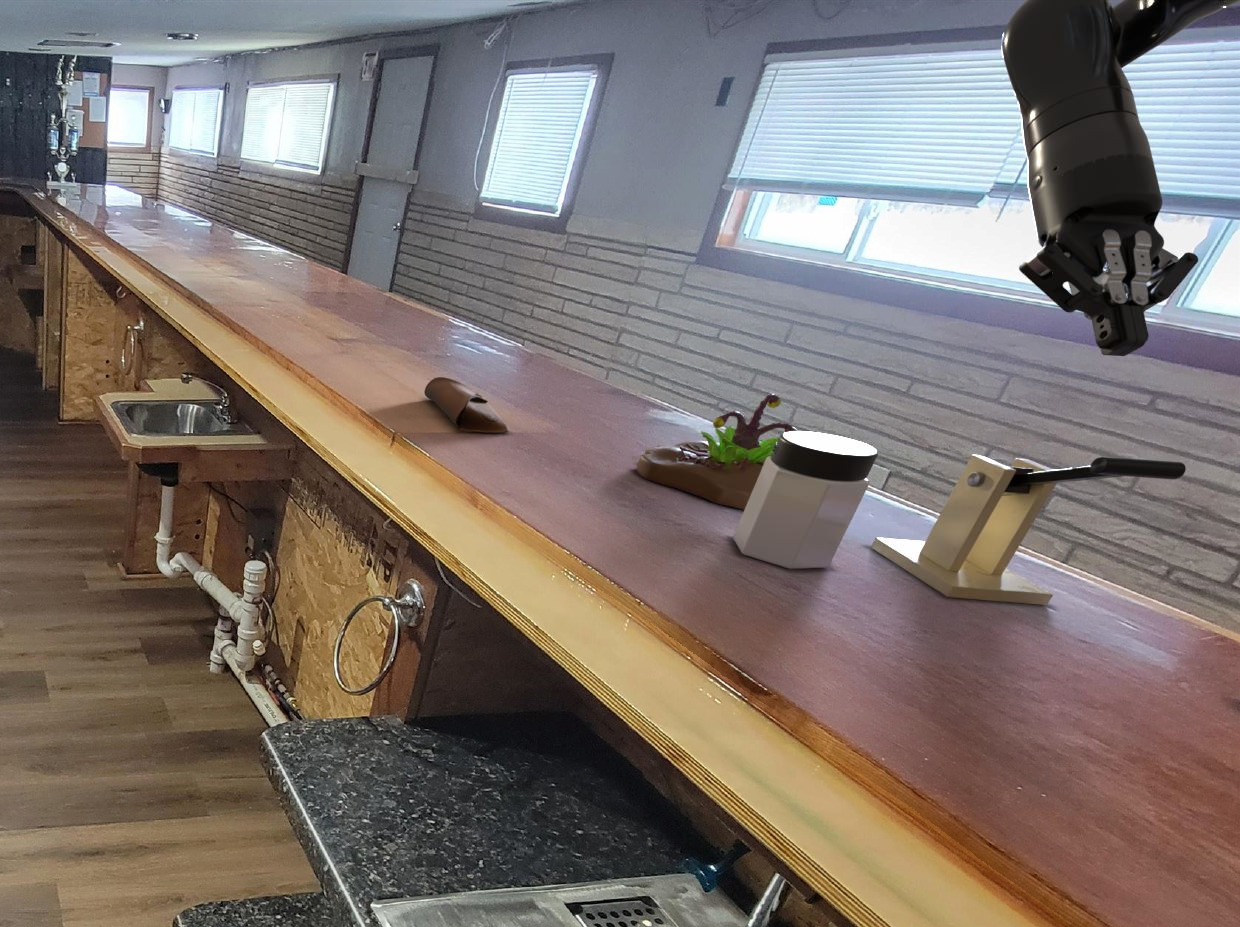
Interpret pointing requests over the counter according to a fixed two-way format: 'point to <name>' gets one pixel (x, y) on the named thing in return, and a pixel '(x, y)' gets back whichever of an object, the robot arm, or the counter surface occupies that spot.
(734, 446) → the plant
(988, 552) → the bracket
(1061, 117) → the robot arm
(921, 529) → the counter surface
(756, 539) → the jar
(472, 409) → the sunglasses case
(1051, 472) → the lever
